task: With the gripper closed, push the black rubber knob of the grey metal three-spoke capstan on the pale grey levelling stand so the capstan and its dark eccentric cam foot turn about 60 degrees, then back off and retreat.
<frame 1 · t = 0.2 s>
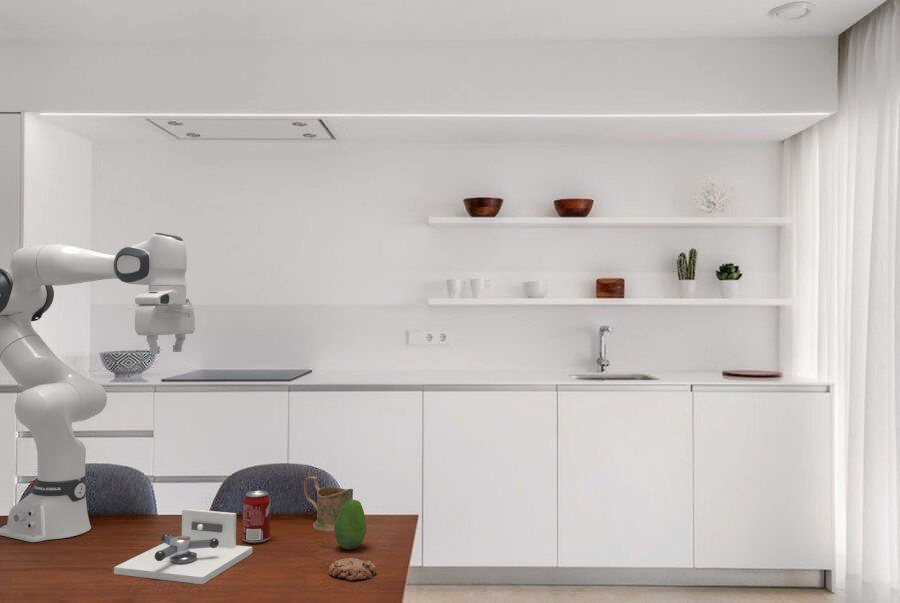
hand: (166, 352, 183), 47 cm above the table, fingers open, 8 cm apart
capstan: (175, 550, 164), point 4 cm above the table, hinge at 0.0°
tan ceramic pitcher: (326, 524, 201), on the table
cookie: (352, 575, 163), on the table
soda can: (256, 541, 185), on the table
fruit: (349, 549, 180), on the table
stand: (187, 562, 169), on the table
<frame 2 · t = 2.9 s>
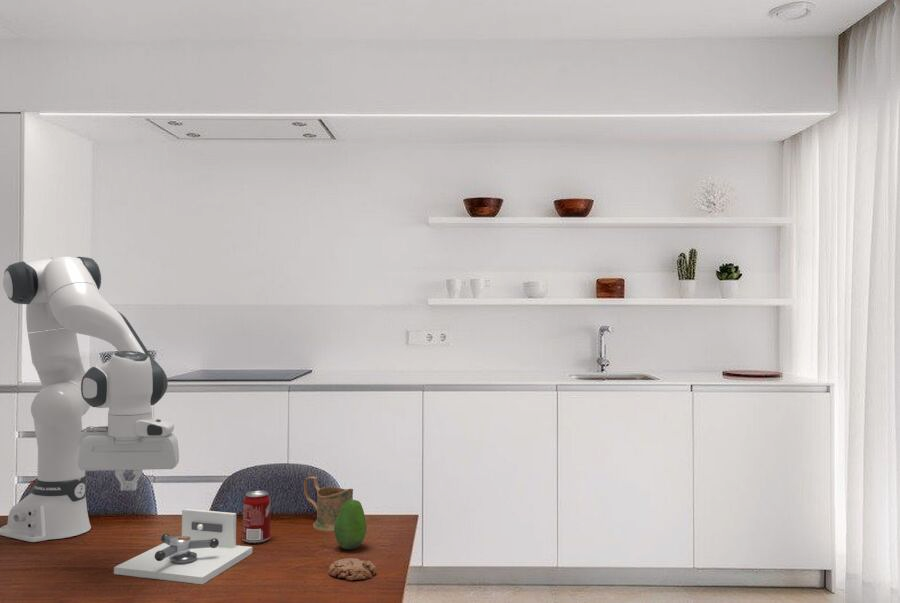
hand: (128, 490, 159), 19 cm above the table, fingers closed
nothing on the table moved.
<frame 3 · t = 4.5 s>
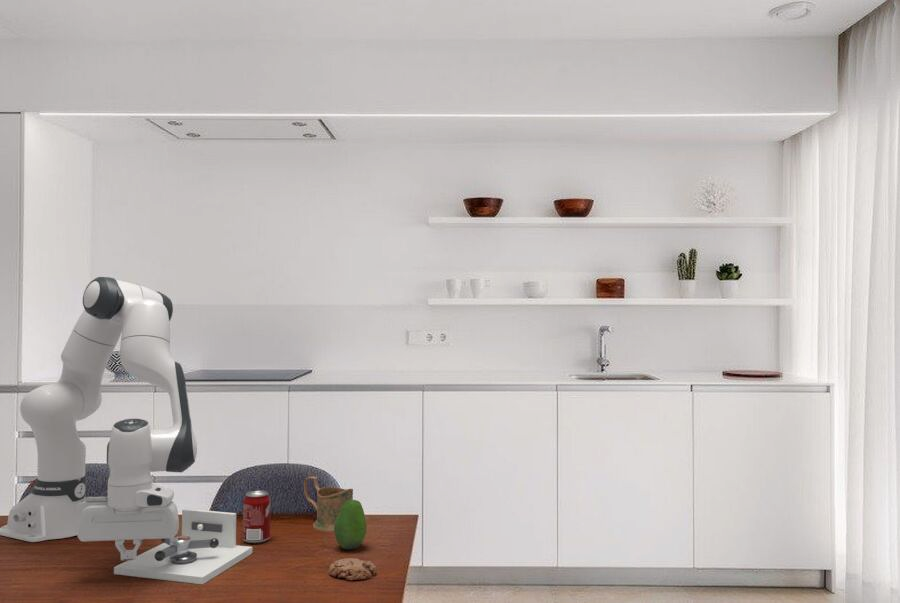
hand: (128, 559, 158), 4 cm above the table, fingers closed
nothing on the table moved.
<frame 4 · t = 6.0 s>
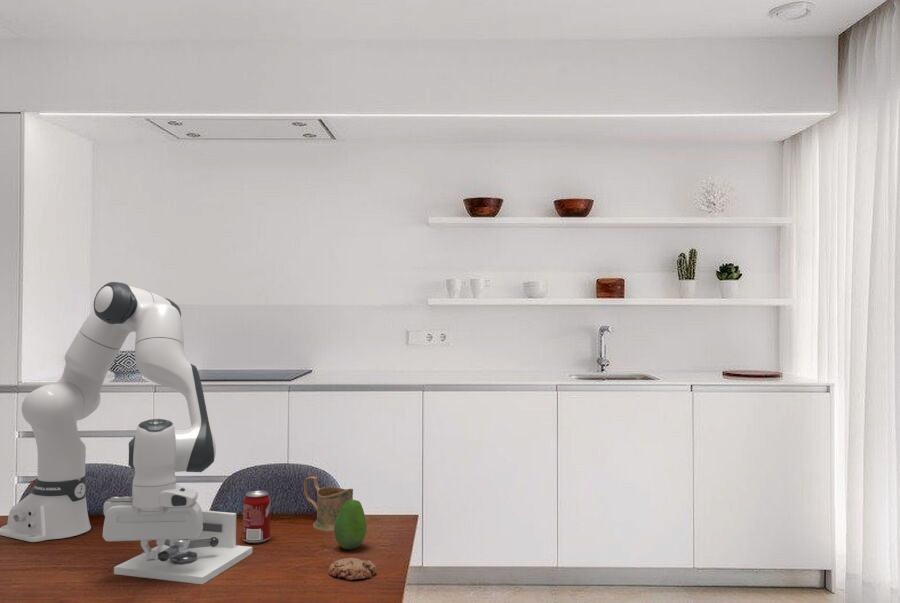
hand: (152, 559, 159), 4 cm above the table, fingers closed
capstan: (176, 550, 164), point 4 cm above the table, hinge at 7.6°, touching gripper
everything else where it was.
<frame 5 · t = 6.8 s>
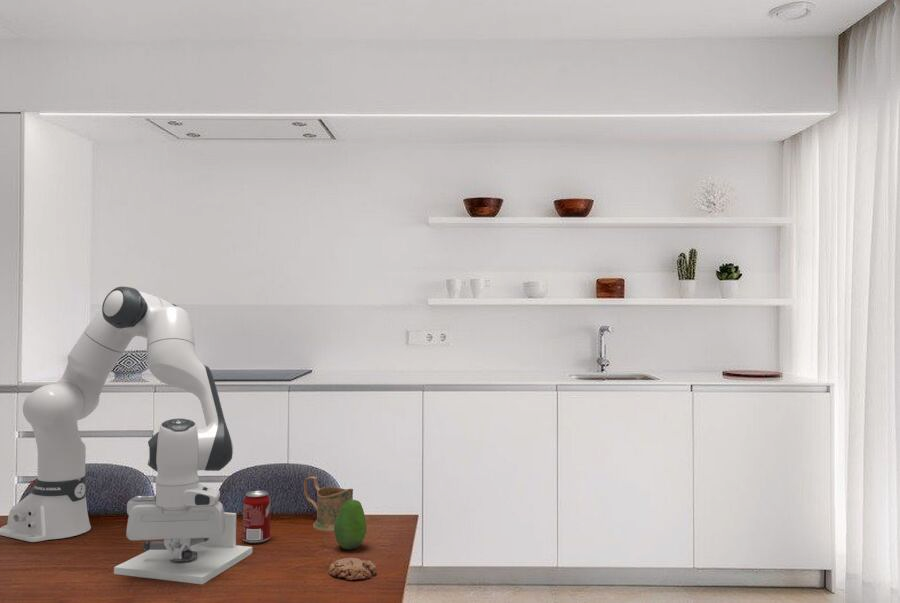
hand: (176, 558, 159), 4 cm above the table, fingers closed
capstan: (181, 550, 164), point 4 cm above the table, hinge at 47.0°, touching gripper
everything else where it was.
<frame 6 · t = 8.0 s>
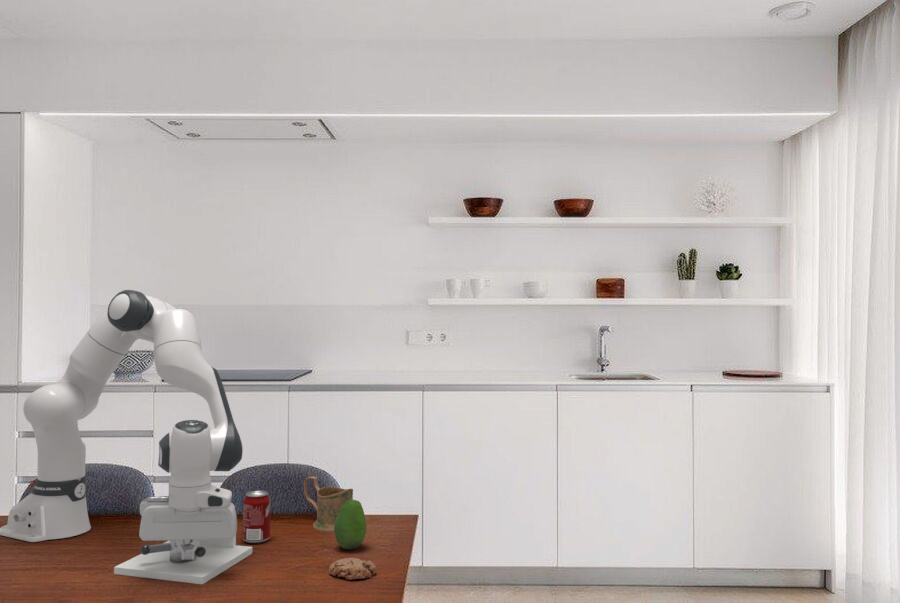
hand: (188, 558, 160), 4 cm above the table, fingers closed
capstan: (185, 549, 165), point 4 cm above the table, hinge at 69.9°, touching gripper
everything else where it was.
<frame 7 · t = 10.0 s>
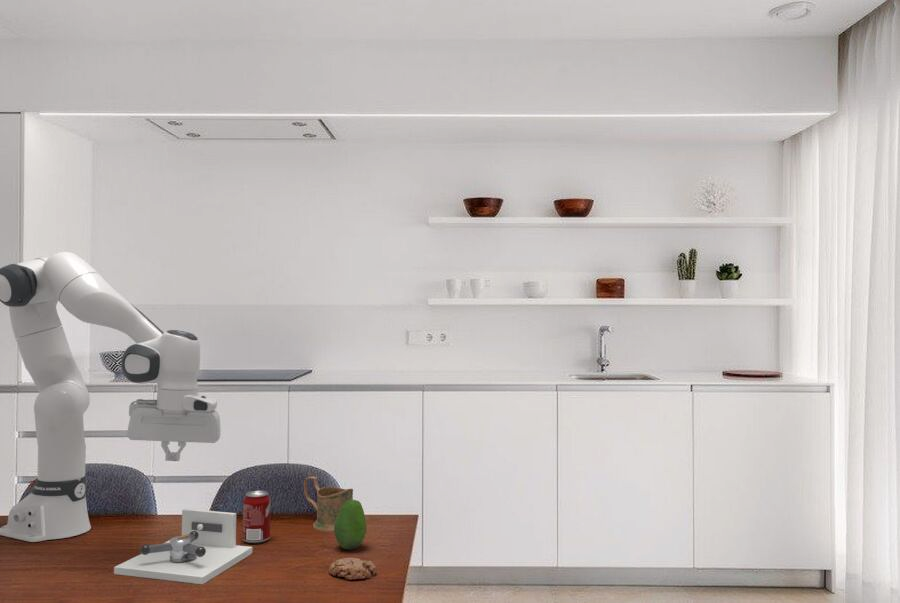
hand: (172, 460, 169), 23 cm above the table, fingers closed
capstan: (185, 549, 165), point 4 cm above the table, hinge at 70.1°
everything else where it was.
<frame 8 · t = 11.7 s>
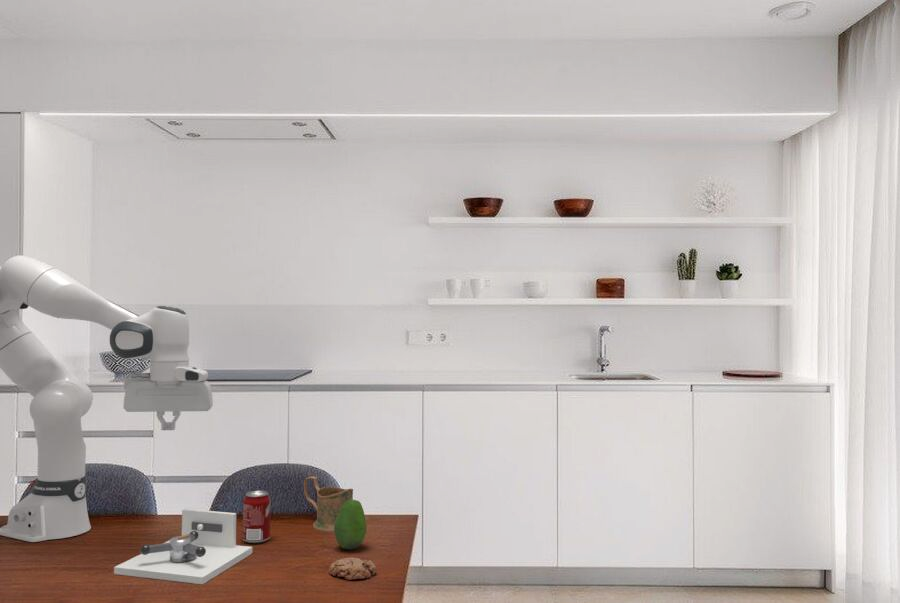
hand: (168, 429, 177), 29 cm above the table, fingers closed
nothing on the table moved.
at the end: capstan at +70° (first picture: +0°); capstan touching nothing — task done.
